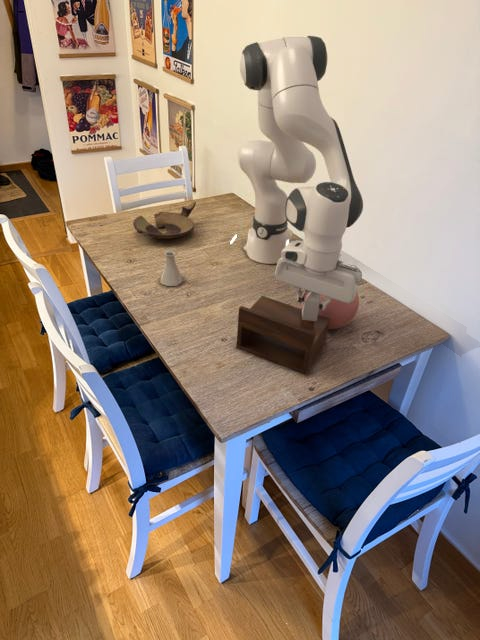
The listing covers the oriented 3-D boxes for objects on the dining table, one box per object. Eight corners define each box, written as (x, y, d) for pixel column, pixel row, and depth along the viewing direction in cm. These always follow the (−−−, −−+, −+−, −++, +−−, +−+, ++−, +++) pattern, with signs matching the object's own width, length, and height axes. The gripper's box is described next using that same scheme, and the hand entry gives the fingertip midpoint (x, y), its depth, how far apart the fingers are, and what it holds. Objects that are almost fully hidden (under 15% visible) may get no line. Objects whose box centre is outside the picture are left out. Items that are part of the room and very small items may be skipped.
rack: (259, 321, 127) (263, 283, 119) (324, 345, 120) (333, 306, 112) (236, 347, 117) (238, 308, 109) (305, 375, 110) (313, 334, 102)
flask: (178, 288, 138) (177, 260, 132) (156, 285, 139) (155, 257, 133) (185, 277, 144) (184, 250, 138) (164, 273, 145) (163, 246, 139)
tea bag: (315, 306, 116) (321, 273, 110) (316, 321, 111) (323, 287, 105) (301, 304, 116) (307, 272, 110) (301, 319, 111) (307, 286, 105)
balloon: (320, 296, 140) (329, 253, 130) (363, 331, 126) (376, 285, 117) (280, 307, 133) (287, 263, 124) (321, 346, 119) (331, 299, 110)
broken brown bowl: (122, 229, 170) (120, 211, 165) (189, 215, 185) (189, 197, 180) (148, 253, 156) (147, 233, 151) (218, 235, 170) (219, 217, 166)
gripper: (367, 262, 100) (354, 311, 108) (286, 239, 107) (279, 287, 115) (360, 274, 95) (347, 324, 104) (275, 249, 103) (269, 298, 111)
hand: (310, 304), depth 110 cm, fingers closed on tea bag, 4 cm apart
